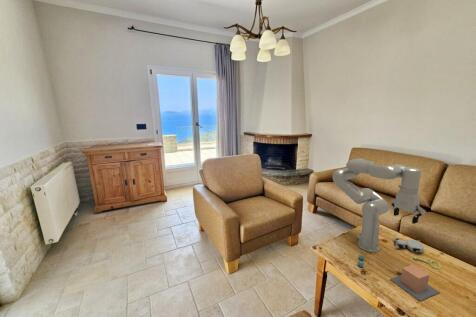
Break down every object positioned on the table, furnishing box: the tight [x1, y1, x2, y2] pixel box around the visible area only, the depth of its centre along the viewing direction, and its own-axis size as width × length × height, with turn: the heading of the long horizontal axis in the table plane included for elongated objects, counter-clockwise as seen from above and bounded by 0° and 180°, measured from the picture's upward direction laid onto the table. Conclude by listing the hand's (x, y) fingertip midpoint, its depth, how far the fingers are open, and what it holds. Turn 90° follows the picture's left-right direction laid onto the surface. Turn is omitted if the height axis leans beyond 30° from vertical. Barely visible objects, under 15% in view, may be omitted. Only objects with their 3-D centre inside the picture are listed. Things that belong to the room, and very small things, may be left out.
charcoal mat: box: [389, 274, 441, 303], centre depth 104 cm, size 14×14×1 cm
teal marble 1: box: [358, 254, 365, 261], centre depth 124 cm, size 3×3×3 cm
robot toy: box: [392, 237, 425, 254], centre depth 133 cm, size 12×4×15 cm
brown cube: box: [401, 264, 430, 293], centre depth 103 cm, size 7×7×8 cm
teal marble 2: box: [357, 260, 365, 268], centre depth 118 cm, size 3×3×3 cm
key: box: [412, 255, 442, 270], centre depth 119 cm, size 7×12×2 cm, turn 66°
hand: (405, 219), depth 114 cm, fingers open, 9 cm apart
